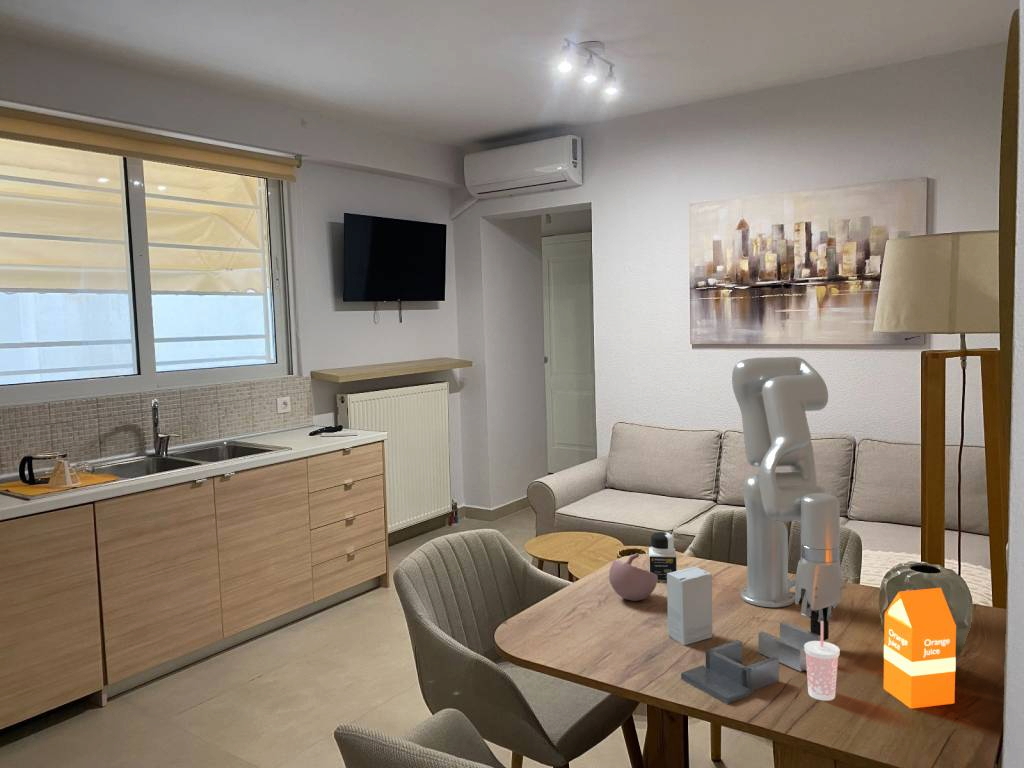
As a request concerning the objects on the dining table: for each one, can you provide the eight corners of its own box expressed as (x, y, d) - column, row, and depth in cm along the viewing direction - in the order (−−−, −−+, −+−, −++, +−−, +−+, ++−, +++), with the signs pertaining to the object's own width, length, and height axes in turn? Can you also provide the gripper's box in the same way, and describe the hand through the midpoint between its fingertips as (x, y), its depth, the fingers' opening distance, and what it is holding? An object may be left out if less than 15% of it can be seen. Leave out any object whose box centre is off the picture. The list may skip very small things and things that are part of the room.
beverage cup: (822, 705, 136) (822, 630, 134) (796, 690, 141) (796, 618, 140) (847, 698, 138) (847, 624, 137) (821, 683, 144) (821, 612, 142)
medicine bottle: (649, 581, 202) (649, 537, 202) (649, 572, 210) (648, 530, 209) (676, 581, 201) (676, 537, 200) (675, 573, 208) (675, 530, 207)
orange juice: (955, 703, 135) (957, 595, 133) (911, 709, 134) (912, 599, 132) (924, 683, 143) (926, 580, 141) (882, 688, 141) (883, 584, 140)
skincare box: (696, 629, 170) (695, 565, 169) (714, 638, 165) (713, 572, 164) (666, 636, 167) (665, 571, 166) (683, 647, 161) (683, 579, 160)
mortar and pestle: (667, 599, 189) (667, 554, 188) (636, 611, 181) (635, 565, 181) (631, 587, 198) (630, 544, 197) (599, 598, 191) (599, 554, 190)
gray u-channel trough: (778, 643, 161) (778, 619, 161) (826, 664, 151) (827, 638, 151) (755, 651, 158) (755, 626, 157) (803, 673, 148) (803, 647, 147)
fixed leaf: (734, 659, 155) (734, 638, 154) (782, 682, 144) (782, 660, 144) (681, 678, 147) (680, 656, 147) (727, 704, 137) (727, 680, 136)
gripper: (827, 542, 165) (826, 624, 166) (781, 555, 157) (781, 640, 158) (858, 551, 158) (857, 635, 160) (812, 564, 150) (811, 653, 152)
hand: (819, 637), depth 159 cm, fingers closed
